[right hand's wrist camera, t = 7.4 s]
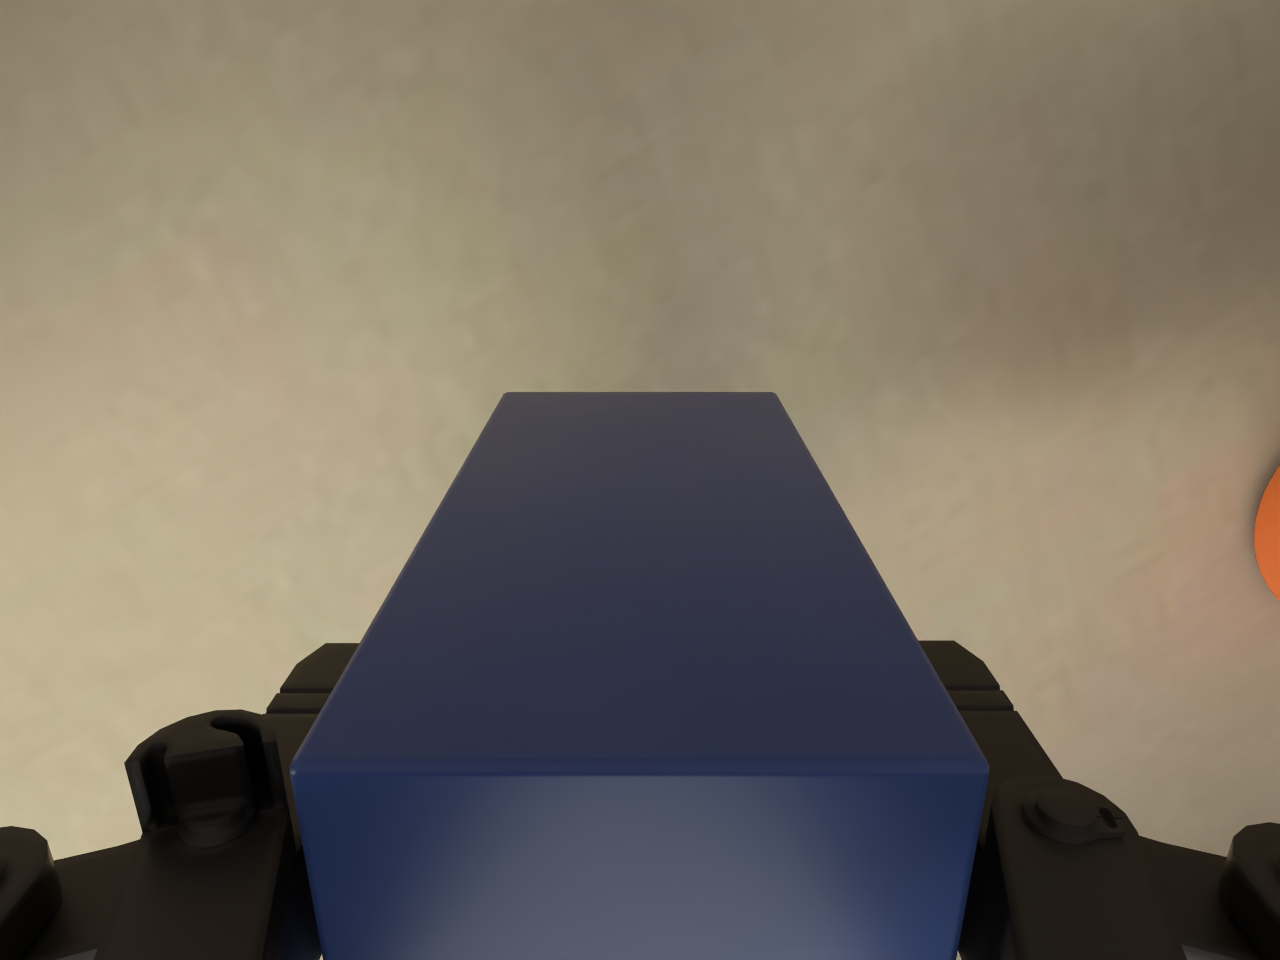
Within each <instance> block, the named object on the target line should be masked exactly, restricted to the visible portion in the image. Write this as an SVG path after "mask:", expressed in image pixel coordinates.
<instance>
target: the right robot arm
mask: <svg viewBox="0 0 1280 960" xmlns="http://www.w3.org/2000/svg"><path fill="white" fill-rule="evenodd" d="M918 642H919V643H920V645H921V647H922V649H923V650H924V652H925V654H926V655H927V657H928V659H929V661H930V662H931V664H932V666H933V668H934V669H935V671H936V673H937V675H938V676H939V678H940V680H941V681H942V683H943V685H944V687H945V688H946V690H947V692H948V694H949V695H950V697H951V699H952V701H953V702H954V704H955V706H956V708H957V709H958V711H959V713H960V714H961V716H962V718H963V720H964V721H965V723H966V725H967V727H968V728H969V730H970V732H971V734H972V735H973V737H974V739H975V741H976V742H977V744H978V746H979V747H980V749H981V751H982V753H983V754H984V756H985V758H986V760H987V762H988V765H989V778H988V784H987V789H986V795H985V801H984V806H983V812H982V817H981V823H980V828H979V834H978V840H977V845H976V851H975V856H974V862H973V867H972V873H971V879H970V884H969V890H968V895H967V901H966V906H965V912H964V918H963V923H962V929H961V934H960V940H959V946H958V951H959V954H960V956H961V959H962V960H1280V824H1277V823H1270V822H1269V823H1262V824H1256V825H1249V826H1246V827H1244V828H1243V829H1242V830H1241V831H1240V832H1238V833H1237V834H1236V835H1235V836H1234V837H1233V840H1232V843H1231V846H1230V849H1229V852H1228V856H1227V857H1223V856H1219V855H1214V854H1210V853H1206V852H1201V851H1197V850H1192V849H1188V848H1184V847H1179V846H1175V845H1170V844H1166V843H1162V842H1158V841H1155V840H1152V839H1148V838H1145V837H1142V836H1139V835H1138V832H1137V830H1136V829H1135V827H1134V826H1133V824H1132V823H1131V821H1130V820H1129V818H1128V817H1127V815H1126V814H1125V813H1124V812H1123V811H1122V810H1121V809H1120V808H1118V807H1117V806H1116V805H1115V804H1113V803H1112V802H1111V801H1110V800H1109V799H1107V798H1106V797H1105V796H1104V795H1102V794H1100V793H1098V792H1096V791H1094V790H1092V789H1090V788H1088V787H1086V786H1084V785H1082V784H1080V783H1077V782H1074V781H1070V780H1066V779H1063V778H1062V776H1061V775H1060V773H1059V772H1058V771H1057V769H1056V768H1055V766H1054V765H1053V763H1052V762H1051V760H1050V759H1049V757H1048V756H1047V754H1046V753H1045V751H1044V750H1043V748H1042V747H1041V746H1040V744H1039V743H1038V741H1037V740H1036V738H1035V737H1034V735H1033V734H1032V732H1031V731H1030V729H1029V728H1028V726H1027V725H1026V724H1025V722H1024V721H1023V719H1022V718H1021V716H1020V715H1019V713H1018V712H1017V711H1014V709H1013V704H1012V703H1011V702H1010V700H1009V699H1008V697H1007V696H1006V694H1005V693H1004V691H1003V690H1000V685H999V684H998V682H997V681H996V679H995V678H994V677H993V675H992V674H991V672H990V671H989V669H988V668H987V666H986V665H985V663H984V662H983V661H982V660H980V659H979V658H978V657H976V656H975V655H973V654H972V653H971V652H969V651H968V650H966V649H965V648H964V647H962V646H961V645H959V644H958V643H957V642H955V641H918ZM359 644H360V643H326V644H324V645H323V646H321V647H320V648H319V649H317V650H316V651H314V652H313V653H312V654H310V655H309V656H307V657H306V658H305V659H303V660H302V661H300V662H299V663H298V664H296V666H295V667H294V669H293V670H292V672H291V673H290V675H289V676H288V678H287V679H286V681H285V682H284V684H283V685H282V687H281V688H280V693H277V694H276V695H275V697H274V698H273V700H272V701H271V703H270V704H269V706H268V707H267V711H266V714H263V715H261V714H257V713H253V712H249V711H245V710H216V711H211V712H207V713H203V714H199V715H195V716H190V717H187V718H185V719H182V720H180V721H178V722H175V723H173V724H171V725H169V726H166V727H164V728H162V729H160V730H159V731H157V732H156V733H154V734H153V735H152V736H150V737H149V738H147V739H146V740H145V741H143V742H142V743H140V744H139V745H138V746H137V747H136V748H135V750H134V751H133V752H132V754H131V755H130V756H129V758H128V759H127V760H126V762H125V763H124V764H125V768H126V771H127V775H128V779H129V783H130V787H131V790H132V794H133V798H134V802H135V806H136V809H137V813H138V817H139V821H140V825H141V828H142V832H143V833H142V836H141V839H140V840H137V841H133V842H130V843H126V844H123V845H120V846H116V847H112V848H107V849H103V850H99V851H94V852H90V853H86V854H81V855H77V856H72V857H68V858H64V859H59V860H55V861H53V858H52V855H51V852H50V848H49V845H48V842H47V840H46V839H45V838H43V837H42V836H41V835H40V834H39V833H38V832H36V831H35V830H33V829H27V828H20V827H14V826H8V827H1V828H0V960H319V959H320V957H321V954H322V950H321V945H320V939H319V934H318V928H317V922H316V917H315V911H314V906H313V900H312V895H311V889H310V883H309V878H308V872H307V867H306V861H305V856H304V850H303V845H302V839H301V833H300V828H299V822H298V817H297V811H296V806H295V800H294V794H293V789H292V783H291V778H290V766H291V763H292V760H293V758H294V756H295V755H296V753H297V751H298V749H299V748H300V746H301V744H302V742H303V741H304V739H305V737H306V736H307V734H308V732H309V730H310V729H311V727H312V725H313V723H314V722H315V720H316V718H317V716H318V715H319V713H320V711H321V710H322V708H323V706H324V704H325V703H326V701H327V699H328V697H329V696H330V694H331V692H332V690H333V689H334V687H335V685H336V684H337V682H338V680H339V678H340V677H341V675H342V673H343V671H344V670H345V668H346V666H347V665H348V663H349V661H350V659H351V658H352V656H353V654H354V652H355V651H356V649H357V647H358V645H359Z"/></svg>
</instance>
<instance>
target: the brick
mask: <svg viewBox="0 0 1280 960" xmlns="http://www.w3.org/2000/svg"><path fill="white" fill-rule="evenodd" d="M290 778H291V783H292V789H293V794H294V800H295V806H296V811H297V817H298V822H299V828H300V833H301V839H302V845H303V850H304V856H305V861H306V867H307V872H308V878H309V883H310V889H311V895H312V900H313V906H314V911H315V917H316V922H317V928H318V934H319V939H320V945H321V950H322V956H323V960H956V957H957V951H958V946H959V940H960V934H961V929H962V923H963V918H964V912H965V906H966V901H967V895H968V890H969V884H970V879H971V873H972V867H973V862H974V856H975V851H976V845H977V840H978V834H979V828H980V823H981V817H982V812H983V806H984V801H985V795H986V789H987V784H988V778H989V765H988V762H987V760H986V758H985V756H984V754H983V753H982V751H981V749H980V747H979V746H978V744H977V742H976V741H975V739H974V737H973V735H972V734H971V732H970V730H969V728H968V727H967V725H966V723H965V721H964V720H963V718H962V716H961V714H960V713H959V711H958V709H957V708H956V706H955V704H954V702H953V701H952V699H951V697H950V695H949V694H948V692H947V690H946V688H945V687H944V685H943V683H942V681H941V680H940V678H939V676H938V675H937V673H936V671H935V669H934V668H933V666H932V664H931V662H930V661H929V659H928V657H927V655H926V654H925V652H924V650H923V649H922V647H921V645H920V643H919V642H918V640H917V638H916V636H915V635H914V633H913V631H912V629H911V628H910V626H909V624H908V622H907V621H906V619H905V617H904V616H903V614H902V612H901V610H900V609H899V607H898V605H897V603H896V602H895V600H894V598H893V596H892V595H891V593H890V591H889V589H888V588H887V586H886V584H885V583H884V581H883V579H882V577H881V576H880V574H879V572H878V570H877V569H876V567H875V565H874V563H873V562H872V560H871V558H870V556H869V555H868V553H867V551H866V550H865V548H864V546H863V544H862V543H861V541H860V539H859V537H858V536H857V534H856V532H855V530H854V529H853V527H852V525H851V524H850V522H849V520H848V518H847V517H846V515H845V513H844V511H843V510H842V508H841V506H840V504H839V503H838V501H837V499H836V497H835V496H834V494H833V492H832V491H831V489H830V487H829V485H828V484H827V482H826V480H825V478H824V477H823V475H822V473H821V471H820V470H819V468H818V466H817V464H816V463H815V461H814V459H813V458H812V456H811V454H810V452H809V451H808V449H807V447H806V445H805V444H804V442H803V440H802V438H801V437H800V435H799V433H798V432H797V430H796V428H795V426H794V425H793V423H792V421H791V419H790V418H789V416H788V414H787V412H786V411H785V409H784V407H783V405H782V404H781V402H780V400H779V399H778V397H777V395H776V394H775V393H773V392H507V393H505V394H503V396H502V398H501V400H500V401H499V403H498V405H497V406H496V408H495V410H494V412H493V413H492V415H491V417H490V419H489V420H488V422H487V424H486V426H485V427H484V429H483V431H482V432H481V434H480V436H479V438H478V439H477V441H476V443H475V445H474V446H473V448H472V450H471V452H470V453H469V455H468V457H467V458H466V460H465V462H464V464H463V465H462V467H461V469H460V471H459V472H458V474H457V476H456V477H455V479H454V481H453V483H452V484H451V486H450V488H449V490H448V491H447V493H446V495H445V497H444V498H443V500H442V502H441V503H440V505H439V507H438V509H437V510H436V512H435V514H434V516H433V517H432V519H431V521H430V523H429V524H428V526H427V528H426V529H425V531H424V533H423V535H422V536H421V538H420V540H419V542H418V543H417V545H416V547H415V548H414V550H413V552H412V554H411V555H410V557H409V559H408V561H407V562H406V564H405V566H404V568H403V569H402V571H401V573H400V574H399V576H398V578H397V580H396V581H395V583H394V585H393V587H392V588H391V590H390V592H389V594H388V595H387V597H386V599H385V600H384V602H383V604H382V606H381V607H380V609H379V611H378V613H377V614H376V616H375V618H374V619H373V621H372V623H371V625H370V626H369V628H368V630H367V632H366V633H365V635H364V637H363V639H362V640H361V642H360V644H359V645H358V647H357V649H356V651H355V652H354V654H353V656H352V658H351V659H350V661H349V663H348V665H347V666H346V668H345V670H344V671H343V673H342V675H341V677H340V678H339V680H338V682H337V684H336V685H335V687H334V689H333V690H332V692H331V694H330V696H329V697H328V699H327V701H326V703H325V704H324V706H323V708H322V710H321V711H320V713H319V715H318V716H317V718H316V720H315V722H314V723H313V725H312V727H311V729H310V730H309V732H308V734H307V736H306V737H305V739H304V741H303V742H302V744H301V746H300V748H299V749H298V751H297V753H296V755H295V756H294V758H293V760H292V763H291V766H290Z"/></svg>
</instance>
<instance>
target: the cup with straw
mask: <svg viewBox="0 0 1280 960" xmlns="http://www.w3.org/2000/svg"><path fill="white" fill-rule="evenodd" d="M1254 547H1255V555H1256V560H1257V563H1258V567H1259V570H1260V572H1261V574H1262V576H1263V578H1264V581H1265V582H1266V584H1267V586H1268V587H1269V589H1270V590H1271V592H1272V593H1273V594H1274V595H1275V596H1276V598H1277V599H1278V600H1279V601H1280V465H1279V467H1278V468H1277V470H1276V471H1275V473H1274V475H1273V476H1272V478H1271V480H1270V482H1269V484H1268V486H1267V488H1266V490H1265V492H1264V494H1263V497H1262V500H1261V502H1260V505H1259V509H1258V512H1257V516H1256V522H1255V529H1254Z"/></svg>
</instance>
